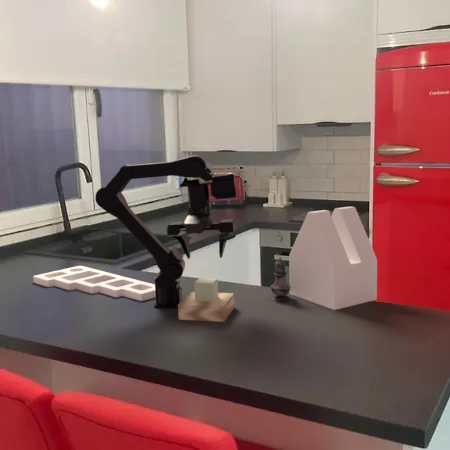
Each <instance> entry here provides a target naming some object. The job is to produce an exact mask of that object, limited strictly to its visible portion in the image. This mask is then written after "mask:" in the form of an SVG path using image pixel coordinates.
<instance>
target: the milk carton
mask: <svg viewBox="0 0 450 450" xmlns="http://www.w3.org/2000/svg"><path fill="white" fill-rule="evenodd" d="M295 238H296V239H295V241H294V243H293V244H292V245H293V246H292V248H291V250H290V252H289V255H288V261H289V262H288V265H289V266H288V267H289V269H288V270H289V271H288V273H289V278H288V281H289V285H290V286H291V288H290V291H289V295H292V296H294V297H297V298H300V299H303V300H305V301H308V302H311V303H314V304H317V305H320V306H322V307H324V308H328V309H330V310H332V311H333V310H334V311H336V310H340V309H344V308H348V307H352V306H356V305H361V304H365V303H368V302H373V301H376V300H377V299H378V258H377V256H376V254H375V251H374V248H373V246H372V244H371V242H370V239H369V237H368V234H367V231H366V230H365V227H364V225H363V223H362V220H361V218H360V216H359V213H358V211H357V208H356V207H355V206H344V207H335V208H334V210H333V211H332V214H331V212H330V210H326V209H323V210H315V211H308V212H307V214H306V215H305V218H304V221H303V222H302V225H301V227H300V229H299V232H298V234H297V236H296V237H295Z"/></svg>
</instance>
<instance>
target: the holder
mask: <svg viewBox="0 0 450 450" xmlns="http://www.w3.org/2000/svg"><path fill="white" fill-rule="evenodd" d="M33 283H34V284H37V285H40V286H43V287H46V288H50V287H56V288H57V287H58V288H60V289H63V290H67V291H72V290H78V291H82V292H84V293H85V292H86V293H88V294H91V295H93V294H97V293H99V294H103V295H107V296H109V297H112V298H113V297H114V298H119V297H125V298H129V299H132V300H136V301H139V302H145V301H147V300H151V299H156V294H155V284H156V283H150V282H146V281H142V280H139V279H135V278H131V277H128V276H127V277H126V276H122V275H120V274H119V275H118V274H116V273H112V272H107V271H104V270H101V269H96V268H91V267H89V266H88V267H87V266H84V265H76V266H73V267H68V268H64V269H63V268H62V269H59V270H58V269H57V270H54V271H50V272H44V273H40V274H37V275H36V274H35V275H33Z"/></svg>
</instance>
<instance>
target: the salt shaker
mask: <svg viewBox="0 0 450 450" xmlns="http://www.w3.org/2000/svg"><path fill="white" fill-rule="evenodd" d="M274 265H275V266H274V267H275V268H274V270H275V271H274V272H273V274H274V283H273V284H271V285H270V286H269V288H270V289H271V293H272V294H273V296H272V297H271V300H272V301H274V302H286V301H290V299H291V297H290V296H288V294H290V288H291V286H290V283H289V284H288V283H287V281H286V279H287V278H286V275H287V274H288V273H287V272H286V262H285V261H284V260H282V258H281V257H279V258H278V260H276V261H275V262H274Z"/></svg>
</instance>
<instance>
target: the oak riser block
mask: <svg viewBox="0 0 450 450" xmlns="http://www.w3.org/2000/svg"><path fill="white" fill-rule="evenodd" d="M235 304H236V303H235V293H234V292H218V297H217V298H216V300H215V301H214V302H203V301H195V293H194V291H191V292H190V293H188V295H186V297H184V298H182V301H181V302H180V303H179V304H178V306H177V310H178V311H177V312H178V313H177V314H178V320H180V321H181V320H184V321H199V322H200V321H203V322H217V323H218V322H220V323H222V322H225V321H227V318H229V316H230V314H231V313H232V312H233V311H234V309H235V307H236V306H235Z"/></svg>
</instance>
